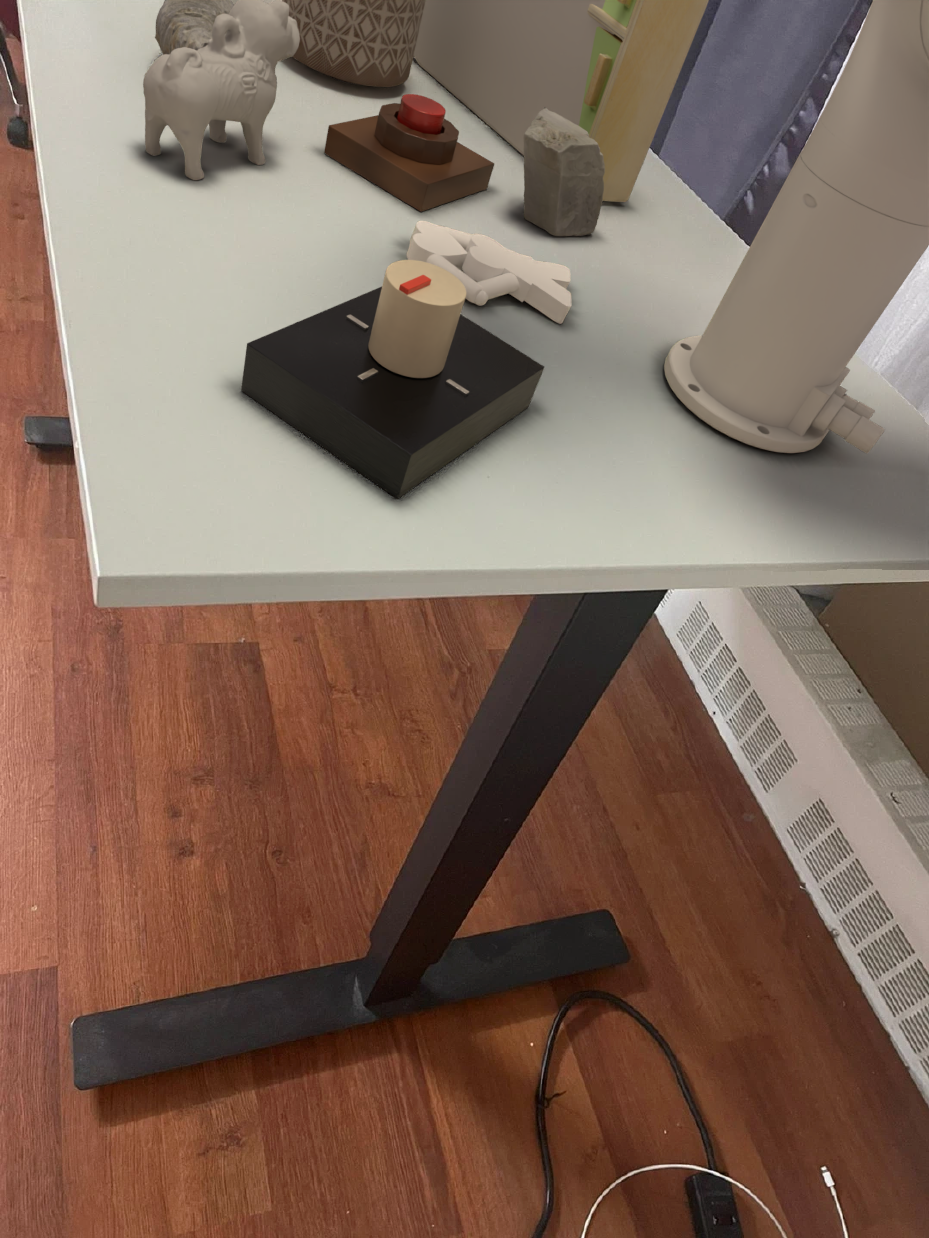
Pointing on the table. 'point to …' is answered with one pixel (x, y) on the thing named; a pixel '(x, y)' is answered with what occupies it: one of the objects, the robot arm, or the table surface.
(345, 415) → the panel
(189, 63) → the dog figurine
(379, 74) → the planter
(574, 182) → the mineral specimen
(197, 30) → the seashell
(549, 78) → the grey rectangular panel
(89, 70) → the table surface
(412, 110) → the button
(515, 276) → the white abstract figurine
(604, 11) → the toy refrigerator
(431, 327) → the knob
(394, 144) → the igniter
